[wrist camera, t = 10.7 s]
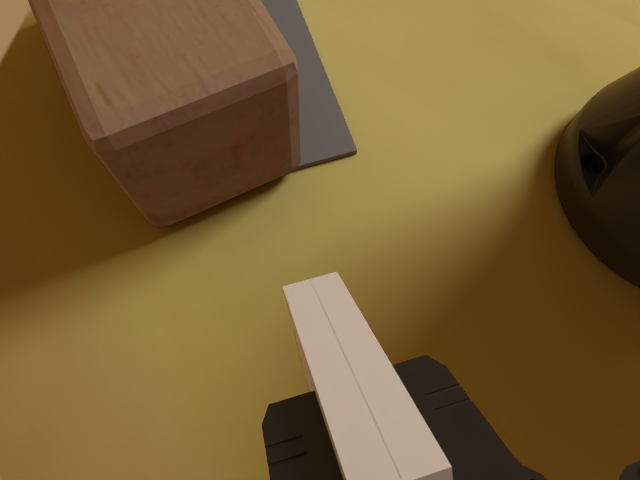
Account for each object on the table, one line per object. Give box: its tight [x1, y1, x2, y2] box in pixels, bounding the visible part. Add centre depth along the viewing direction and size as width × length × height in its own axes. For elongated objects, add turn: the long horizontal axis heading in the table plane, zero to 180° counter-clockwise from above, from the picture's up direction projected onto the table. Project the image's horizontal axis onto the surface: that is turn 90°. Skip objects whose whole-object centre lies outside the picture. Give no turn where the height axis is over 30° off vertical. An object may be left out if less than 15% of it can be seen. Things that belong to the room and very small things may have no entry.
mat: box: [261, 0, 357, 171], centre depth 33 cm, size 18×14×1 cm
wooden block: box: [28, 0, 301, 227], centre depth 28 cm, size 10×10×20 cm
